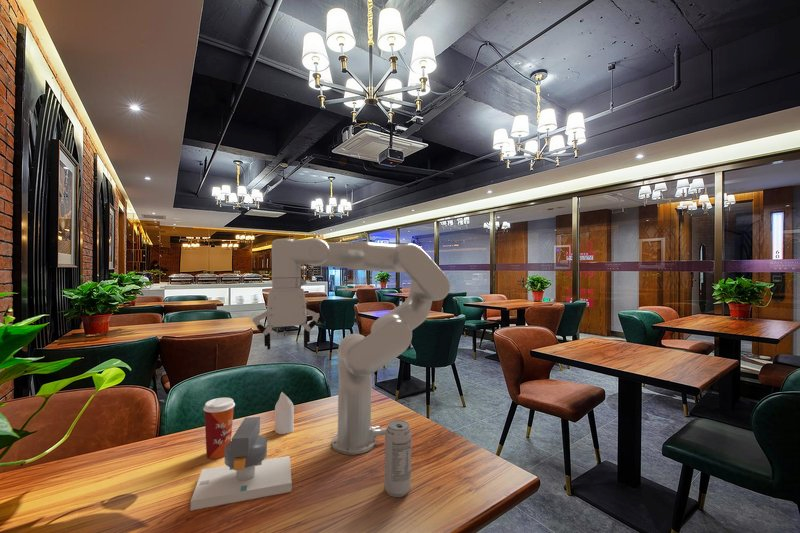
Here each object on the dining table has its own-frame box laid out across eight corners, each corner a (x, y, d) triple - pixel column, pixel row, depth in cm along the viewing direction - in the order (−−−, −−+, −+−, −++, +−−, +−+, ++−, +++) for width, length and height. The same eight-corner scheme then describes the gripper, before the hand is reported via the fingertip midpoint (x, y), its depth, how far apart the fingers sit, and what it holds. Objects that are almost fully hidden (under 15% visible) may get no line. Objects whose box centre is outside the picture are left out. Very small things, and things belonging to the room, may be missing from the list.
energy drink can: (404, 480, 84) (406, 417, 84) (414, 495, 78) (415, 428, 78) (381, 485, 82) (382, 421, 82) (389, 501, 76) (390, 432, 76)
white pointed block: (298, 391, 110) (284, 396, 105) (297, 429, 109) (283, 436, 105) (284, 387, 112) (270, 392, 108) (283, 424, 112) (269, 431, 107)
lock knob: (232, 446, 86) (233, 418, 86) (270, 444, 87) (271, 416, 87) (216, 474, 74) (216, 441, 74) (260, 470, 76) (261, 438, 76)
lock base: (289, 463, 90) (290, 440, 90) (291, 491, 79) (291, 464, 79) (202, 477, 83) (202, 452, 83) (190, 510, 72) (191, 481, 72)
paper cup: (220, 463, 90) (222, 408, 90) (195, 459, 91) (196, 405, 91) (240, 448, 97) (241, 397, 98) (216, 444, 99) (217, 395, 99)
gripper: (316, 282, 102) (317, 341, 102) (252, 284, 95) (253, 347, 95) (321, 283, 95) (321, 346, 95) (252, 285, 88) (253, 353, 88)
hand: (287, 346), depth 95 cm, fingers open, 9 cm apart
